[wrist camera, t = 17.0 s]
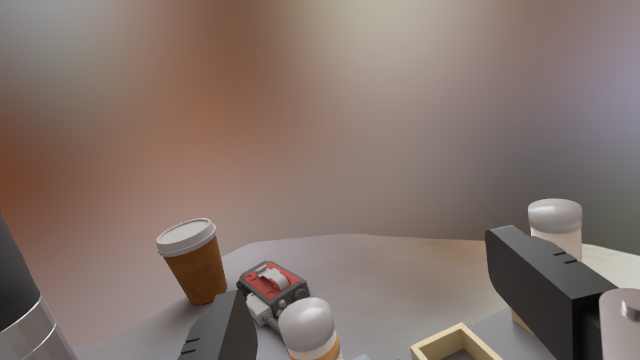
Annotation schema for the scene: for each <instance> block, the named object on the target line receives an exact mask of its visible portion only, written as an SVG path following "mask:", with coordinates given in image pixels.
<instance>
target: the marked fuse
mask: <svg viewBox="0 0 640 360" xmlns="http://www.w3.org/2000/svg"><path fill="white" fill-rule="evenodd" d="M278 326H279V329H280V332H281V335H282V337H283V340H284V343H285V345H286V346H287V349H288V353H289V356H290V359H291V360H343V357H342V354H341V350H340V344H339V341H338V337H337V334H336V331H335V325H334V321H333V317H332V314H331V310H330V307H329V305H328V303H327V302H326V301H324V300H322V299H320V298H305V299H301V300H298V301H296V302H294V303H292V304H291V305H289V306H288V307H287V308H285V309H284V311H283V312H282V313H281V315H280V317H279V320H278Z"/></svg>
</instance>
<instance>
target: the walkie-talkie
mask: <svg viewBox="0 0 640 360" xmlns="http://www.w3.org/2000/svg"><path fill="white" fill-rule="evenodd" d="M236 285H237V288H238V289H239V290H241V291H242V292H243V293H244V294H245V295H247V302H246V303H247V306H248V309H249V312H250V314H251V316H252V317H253V318H254V319H255V320H256V321H257V323H258V324H259V325H260V326H263V325H264V324H266V325H269V326H270V327H271V328H272V329H274V330H275V331H276V332H277V333H278V334H279V335H280V336H282V335H281V332H280V329H279V326H278V322H277V321H276V320H275V319H274V318H277V317H280V315H281V313H282V312H283V311H284V309H285V308H287V307H288V306H289V305H291V304H292V303H294V302H296V301H298V300H301V299H305V298H307V297H308V296H309V295H310V293H309V289H308V286H307V283H306V280H304V279H302V278H301V277H299V276H297V275H295V274H294V273H292V272H289V271H288V270H286V269H284V268H282V267H281V266H279V265H277V264H276V263H274V262H272V261H264V262H262V263H260V264H258V265H257V266H255V267H253V268H251V269H250V270H248V271H246V272H244V273H243V274H242V275H241V276H240V279H239V281H238V282H237V283H236ZM240 285H241V286H240Z"/></svg>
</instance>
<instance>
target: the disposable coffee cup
mask: <svg viewBox="0 0 640 360" xmlns="http://www.w3.org/2000/svg"><path fill="white" fill-rule="evenodd" d="M156 242H157V247H156V250H157V252H158V253H159V254H160V255H161V256H163V257H164V259H165V260H166V262H167V264H168V265H169V267H170V269H171V271H172V272H173V274H174V275H175V277H176V279H177V281H178V282H179V284H180V285H181V287H182V289H183V290H184V292H185V293H186V295H187V297H188V298H189V300H190V302H191V303H192V304H194V305H202V304H206V303H209V302H211V301H213V300H214V298H215V296H216V295H217V294H222V293H224V292H225V290H226V288H227V284H226V279H225V275H224V270H223V265H222V261H221V257H220V252H219V248H218V243H217V239H216V225H214V224H212V222H211V221H210V219H207V218H199V219H194V220H189V221H186V222H183V223H181V224H178V225H176V226H174V227H172V228H170V229H168V230H166V231H165V232H163V233H162V234H161V235H160V236H159V237H158V238H157V241H156Z"/></svg>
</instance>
